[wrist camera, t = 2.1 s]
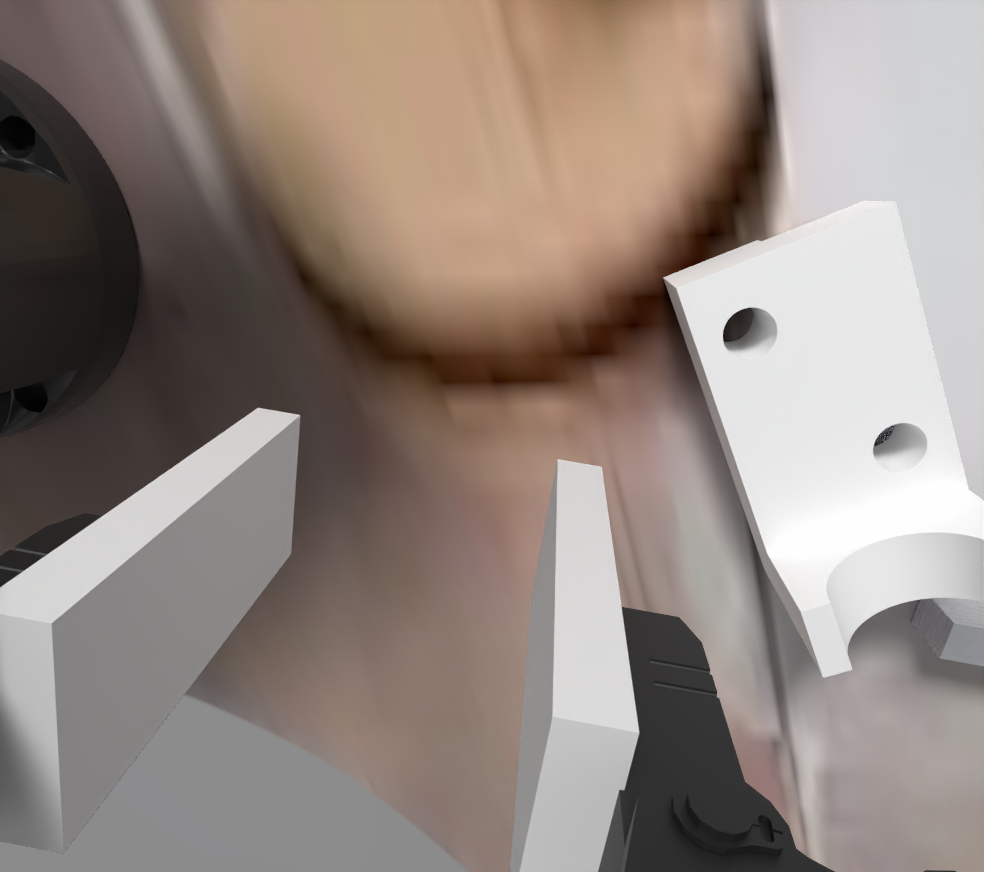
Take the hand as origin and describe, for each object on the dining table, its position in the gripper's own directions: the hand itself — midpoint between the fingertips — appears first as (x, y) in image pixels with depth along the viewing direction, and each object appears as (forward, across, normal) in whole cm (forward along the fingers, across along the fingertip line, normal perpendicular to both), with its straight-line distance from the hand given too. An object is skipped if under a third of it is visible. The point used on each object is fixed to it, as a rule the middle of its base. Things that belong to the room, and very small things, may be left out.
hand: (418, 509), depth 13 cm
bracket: (+17, +12, 0) cm, 21 cm away
